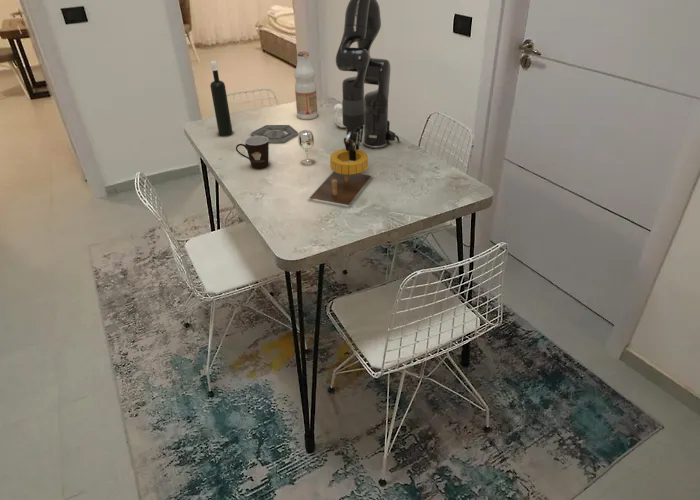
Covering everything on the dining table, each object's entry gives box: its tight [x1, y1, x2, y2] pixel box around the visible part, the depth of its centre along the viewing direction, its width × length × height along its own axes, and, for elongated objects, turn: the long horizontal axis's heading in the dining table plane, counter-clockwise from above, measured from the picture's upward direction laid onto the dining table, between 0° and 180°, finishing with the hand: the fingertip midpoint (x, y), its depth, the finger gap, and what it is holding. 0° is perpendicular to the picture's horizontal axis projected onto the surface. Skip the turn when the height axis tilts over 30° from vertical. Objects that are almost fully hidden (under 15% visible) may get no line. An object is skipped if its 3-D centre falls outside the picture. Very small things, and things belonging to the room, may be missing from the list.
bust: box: [333, 103, 347, 129], centre depth 212 cm, size 12×8×11 cm
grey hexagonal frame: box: [250, 124, 299, 144], centre depth 208 cm, size 17×20×1 cm
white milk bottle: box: [293, 51, 318, 120], centre depth 218 cm, size 9×9×28 cm
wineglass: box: [297, 129, 315, 164], centre depth 182 cm, size 6×6×12 cm
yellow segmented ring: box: [329, 148, 369, 175], centre depth 169 cm, size 13×13×4 cm
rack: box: [309, 171, 372, 206], centre depth 167 cm, size 22×14×6 cm, turn 159°
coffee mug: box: [235, 135, 270, 170], centre depth 182 cm, size 12×9×10 cm
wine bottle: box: [209, 60, 234, 137], centre depth 202 cm, size 6×6×30 cm
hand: (354, 158), depth 174 cm, fingers closed on yellow segmented ring, 2 cm apart
